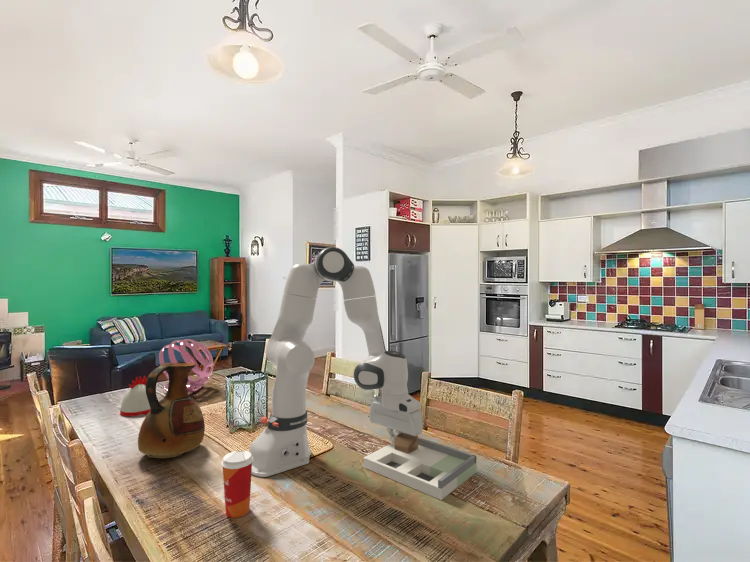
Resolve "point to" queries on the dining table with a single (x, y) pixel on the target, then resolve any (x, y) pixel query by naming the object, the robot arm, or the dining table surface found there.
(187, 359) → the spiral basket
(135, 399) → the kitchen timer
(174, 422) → the ceramic pitcher
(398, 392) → the robot arm
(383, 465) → the tray
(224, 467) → the paper cup
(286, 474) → the dining table surface
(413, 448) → the walnut block
